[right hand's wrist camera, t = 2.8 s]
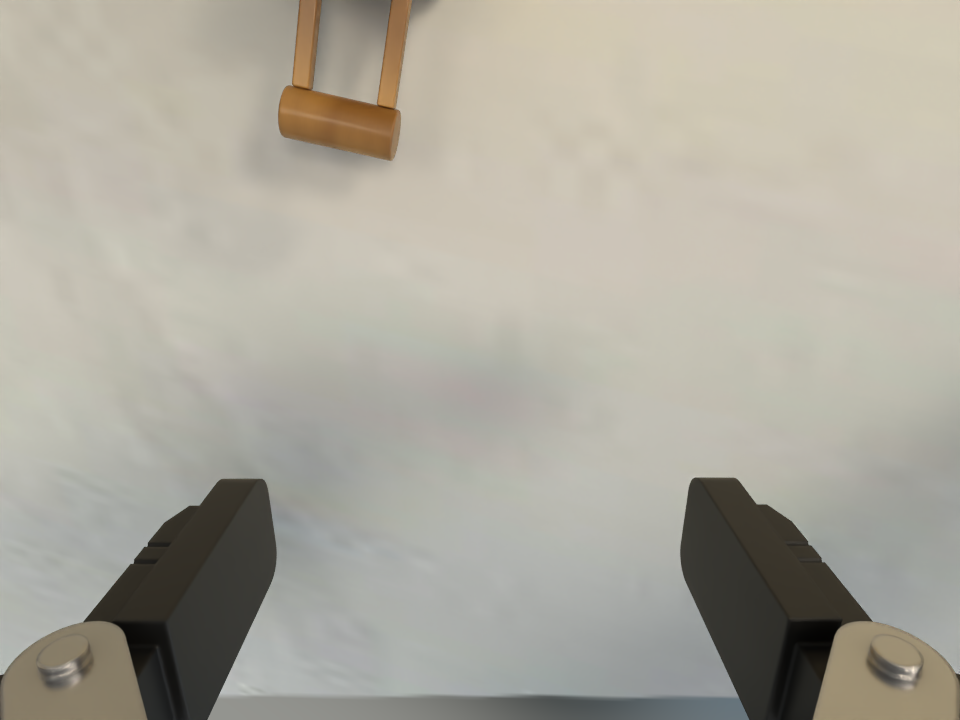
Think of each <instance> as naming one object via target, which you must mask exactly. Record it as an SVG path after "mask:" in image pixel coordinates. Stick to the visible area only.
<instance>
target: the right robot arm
mask: <svg viewBox="0 0 960 720" xmlns="http://www.w3.org/2000/svg"><path fill="white" fill-rule="evenodd" d="M276 556H277V551H276V541H275V535H274V528H273V521H272V514H271V507H270V500H269V493H268V488H267V484H266V482H265V481H264V480H263V479H221V480H219V481H218V482H217V483H216V485H215V486H214V487H213V489H212V490H211V491H210V493H209V494H208V495H207V497H206V498H205V499H204V501H203V502H202V503H201V504H200V506H188V507H187V508H186V509H184V510H183V511H181V512H180V513H178V514H177V515H175V516H174V517H172V518H171V519H169V520H168V521H166V522H165V523H164V524H163V525H162V526H161V527H160V529H159V530H158V531H157V532H156V534H155V535H154V536H153V537H152V538H151V540H150V541H149V542H148V546H147V547H144V548H143V550H142V551H141V552H140V553H139V554H138V556H137V557H136V558H135V559H134V564H130V565H129V567H128V568H127V569H126V570H125V572H124V573H123V574H122V575H121V576H120V578H119V579H118V580H117V581H116V583H115V584H114V585H113V586H112V587H111V589H110V590H109V591H108V592H107V594H106V595H105V596H104V597H103V598H102V600H101V601H100V602H99V603H98V605H97V606H96V607H95V608H94V609H93V611H92V612H91V613H90V614H89V616H88V617H87V618H86V619H85V621H84V622H83V623H78V624H74V625H71V626H68V627H65V628H62V629H60V630H57V631H55V632H53V633H51V634H49V635H47V636H45V637H43V638H41V639H40V640H38V641H37V642H35V643H34V644H32V645H31V646H29V647H28V648H27V649H26V650H24V651H23V652H22V653H21V654H20V655H19V656H18V657H17V658H16V659H15V660H14V661H13V662H12V663H11V664H10V666H9V667H8V669H7V670H6V672H5V673H4V674H3V675H0V720H207V719H208V717H209V715H210V713H211V711H212V708H213V706H214V704H215V702H216V700H217V698H218V696H219V693H220V691H221V689H222V687H223V685H224V683H225V681H226V679H227V676H228V674H229V672H230V670H231V668H232V666H233V664H234V661H235V659H236V657H237V655H238V653H239V651H240V649H241V646H242V644H243V642H244V640H245V638H246V636H247V634H248V631H249V629H250V627H251V625H252V623H253V621H254V619H255V616H256V614H257V612H258V610H259V608H260V606H261V604H262V602H263V599H264V597H265V595H266V593H267V591H268V589H269V587H270V584H271V582H272V579H273V576H274V572H275V567H276ZM680 557H681V566H682V571H683V575H684V578H685V581H686V583H687V586H688V588H689V590H690V592H691V594H692V596H693V599H694V601H695V603H696V605H697V607H698V609H699V612H700V614H701V616H702V618H703V620H704V622H705V625H706V627H707V629H708V631H709V633H710V635H711V638H712V640H713V642H714V644H715V646H716V648H717V651H718V653H719V655H720V657H721V659H722V661H723V664H724V666H725V668H726V670H727V672H728V674H729V677H730V679H731V681H732V683H733V685H734V687H735V689H736V692H737V694H738V696H739V698H740V700H741V702H742V705H743V707H744V709H745V711H746V713H747V715H748V718H749V720H960V674H956V673H955V672H954V670H953V669H952V667H951V666H950V664H949V663H948V662H947V661H946V660H945V659H944V658H943V657H942V656H941V655H940V654H939V653H938V652H937V651H936V650H934V649H933V648H932V647H931V646H929V645H928V644H926V643H925V642H923V641H922V640H920V639H919V638H917V637H915V636H913V635H911V634H909V633H907V632H905V631H903V630H900V629H898V628H895V627H892V626H889V625H886V624H882V623H877V622H873V621H872V620H871V619H870V617H869V616H868V615H867V614H866V613H865V611H864V610H863V609H862V608H861V606H860V605H859V604H858V603H857V601H856V600H855V599H854V598H853V596H852V595H851V594H850V593H849V592H848V590H847V589H846V588H845V587H844V585H843V584H842V583H841V582H840V580H839V579H838V578H837V577H836V575H835V574H834V573H833V572H832V571H831V569H830V568H829V567H828V566H827V564H826V563H822V560H821V557H820V556H819V554H818V553H817V552H816V551H815V550H814V548H813V547H812V546H809V545H808V541H807V540H806V538H805V537H804V536H803V535H802V534H801V532H800V531H799V530H798V529H797V527H796V526H795V525H794V524H793V522H792V521H790V520H789V519H787V518H786V517H784V516H783V515H781V514H780V513H778V512H777V511H775V510H774V509H773V508H771V507H770V506H768V505H757V504H756V503H755V502H754V500H753V499H752V498H751V496H750V495H749V494H748V492H747V491H746V490H745V488H744V487H743V486H742V484H741V483H740V482H739V481H738V480H737V479H736V478H694V479H692V481H691V483H690V486H689V490H688V497H687V505H686V512H685V519H684V526H683V533H682V540H681V549H680Z"/></svg>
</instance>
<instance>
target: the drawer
mask: <svg viewBox="0 0 960 720" xmlns="http://www.w3.org/2000/svg"><path fill="white" fill-rule="evenodd" d="M321 3H322V0H300V3H299V14H298V25H297V35H296V46H295V57H294V68H293V79H292V85H293V86H291V85H289V86H286V87H285V89H284V90H283V93H282V95H281V99H280V103H279V111H278V123H279V129H280V133H281V135H282V136H283V137H286V138H290V139H295V140H299V141H304V142H308V143H312V144H317V145H321V146H326V147H330V148H335V149H339V150H344V151H348V152H353V153H357V154H362V155H366V156H371V157H375V158H380V159H384V160H389V161H392V160H393V158H394V156H395V153H396V150H397V145H398V140H399V134H400V126H401V114H400V111H399V110H396V109H395V108H396V103H397V97H398V90H399V83H400V77H401V70H402V63H403V57H404V50H405V43H406V37H407V30H408V23H409V17H410V10H411V3H412V0H391V7H390V14H389V21H388V29H387V36H386V43H385V50H384V57H383V64H382V72H381V79H380V86H379V93H378V100H377V105H374V104H370V103H365V102H361V101H356V100H352V99H348V98H343V97H339V96H335V95H330V94H326V93H321V92H317V91H313V90H312V89H313V81H314V71H315V61H316V52H317V42H318V32H319V23H320V13H321Z"/></svg>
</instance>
